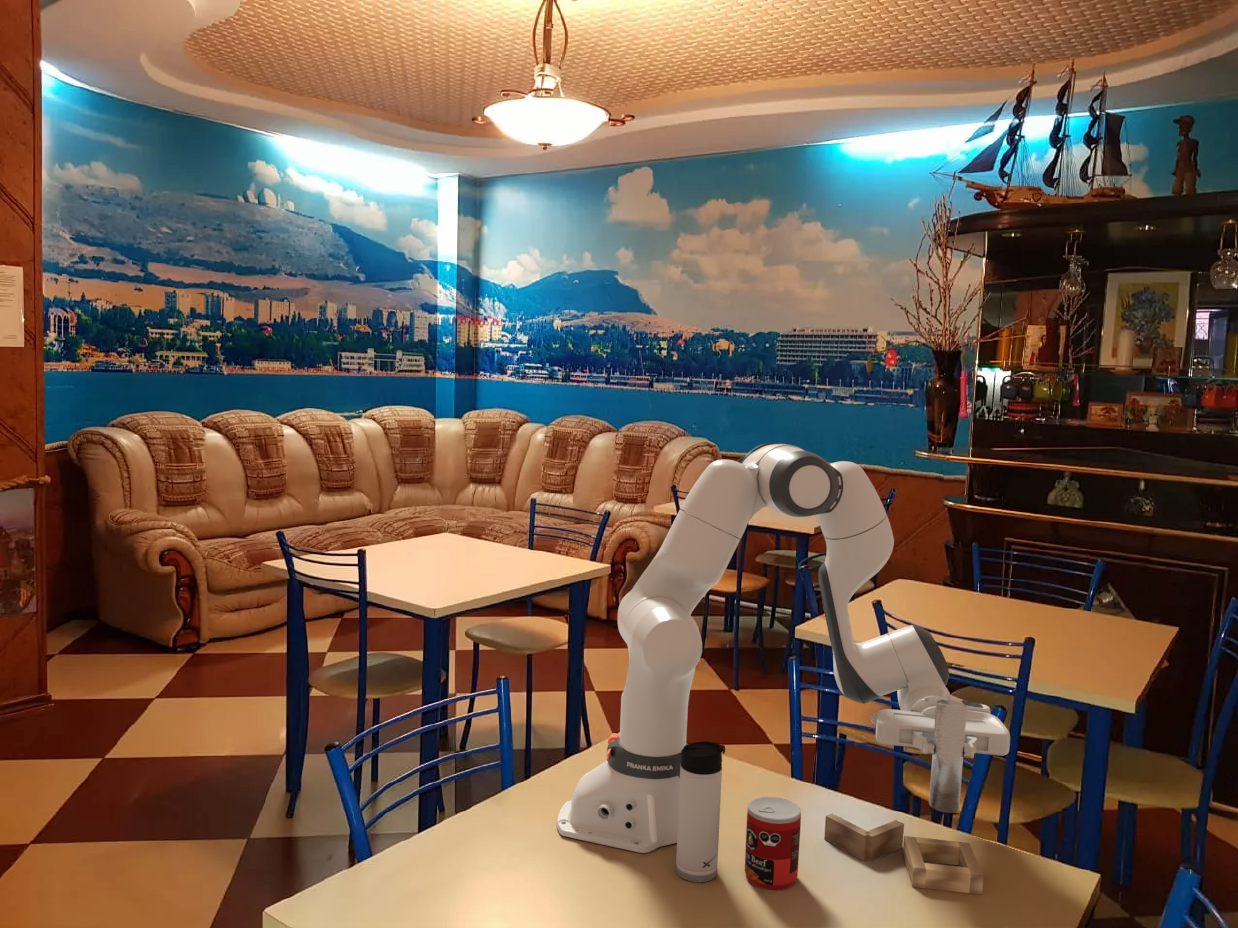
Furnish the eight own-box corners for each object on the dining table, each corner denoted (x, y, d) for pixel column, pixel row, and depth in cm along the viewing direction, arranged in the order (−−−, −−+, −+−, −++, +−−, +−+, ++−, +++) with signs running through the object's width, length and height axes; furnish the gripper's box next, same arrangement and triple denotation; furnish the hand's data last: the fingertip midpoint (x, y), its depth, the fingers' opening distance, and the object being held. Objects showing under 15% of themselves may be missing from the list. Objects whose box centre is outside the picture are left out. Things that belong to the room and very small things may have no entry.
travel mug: (717, 885, 139) (723, 755, 137) (673, 879, 140) (678, 750, 138) (721, 864, 145) (727, 739, 143) (678, 859, 146) (684, 734, 145)
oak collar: (912, 886, 141) (913, 867, 140) (902, 853, 151) (904, 835, 150) (982, 894, 139) (983, 875, 139) (967, 860, 149) (969, 842, 149)
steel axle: (931, 810, 142) (938, 708, 141) (926, 798, 147) (933, 698, 145) (961, 813, 142) (969, 711, 140) (956, 801, 146) (963, 701, 144)
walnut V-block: (826, 855, 149) (827, 831, 149) (823, 835, 156) (825, 812, 155) (907, 864, 147) (909, 840, 147) (901, 844, 154) (903, 820, 153)
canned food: (734, 869, 144) (738, 800, 143) (779, 860, 147) (782, 792, 146) (761, 895, 137) (765, 822, 136) (807, 885, 140) (811, 814, 139)
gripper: (870, 694, 157) (880, 724, 144) (998, 706, 154) (1020, 737, 140) (867, 731, 158) (877, 764, 144) (995, 743, 155) (1017, 778, 141)
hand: (949, 751), depth 142 cm, fingers closed on steel axle, 4 cm apart
